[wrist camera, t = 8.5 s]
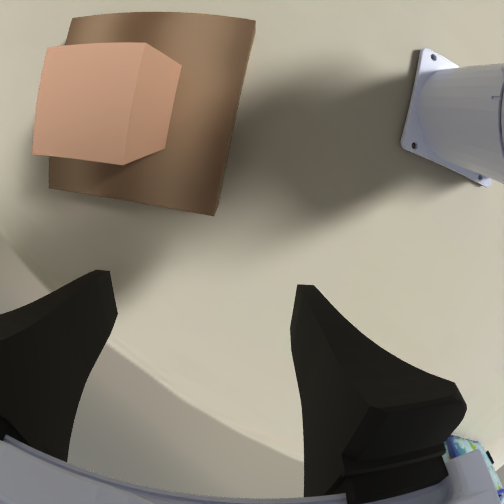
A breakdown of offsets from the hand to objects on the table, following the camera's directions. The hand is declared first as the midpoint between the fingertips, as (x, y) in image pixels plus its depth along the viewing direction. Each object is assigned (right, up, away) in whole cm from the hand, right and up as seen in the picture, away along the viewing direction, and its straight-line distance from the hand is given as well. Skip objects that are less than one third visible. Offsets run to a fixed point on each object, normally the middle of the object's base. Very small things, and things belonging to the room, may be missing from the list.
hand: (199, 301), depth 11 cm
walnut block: (-5, +12, +7) cm, 14 cm away
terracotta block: (-5, +11, +4) cm, 12 cm away
